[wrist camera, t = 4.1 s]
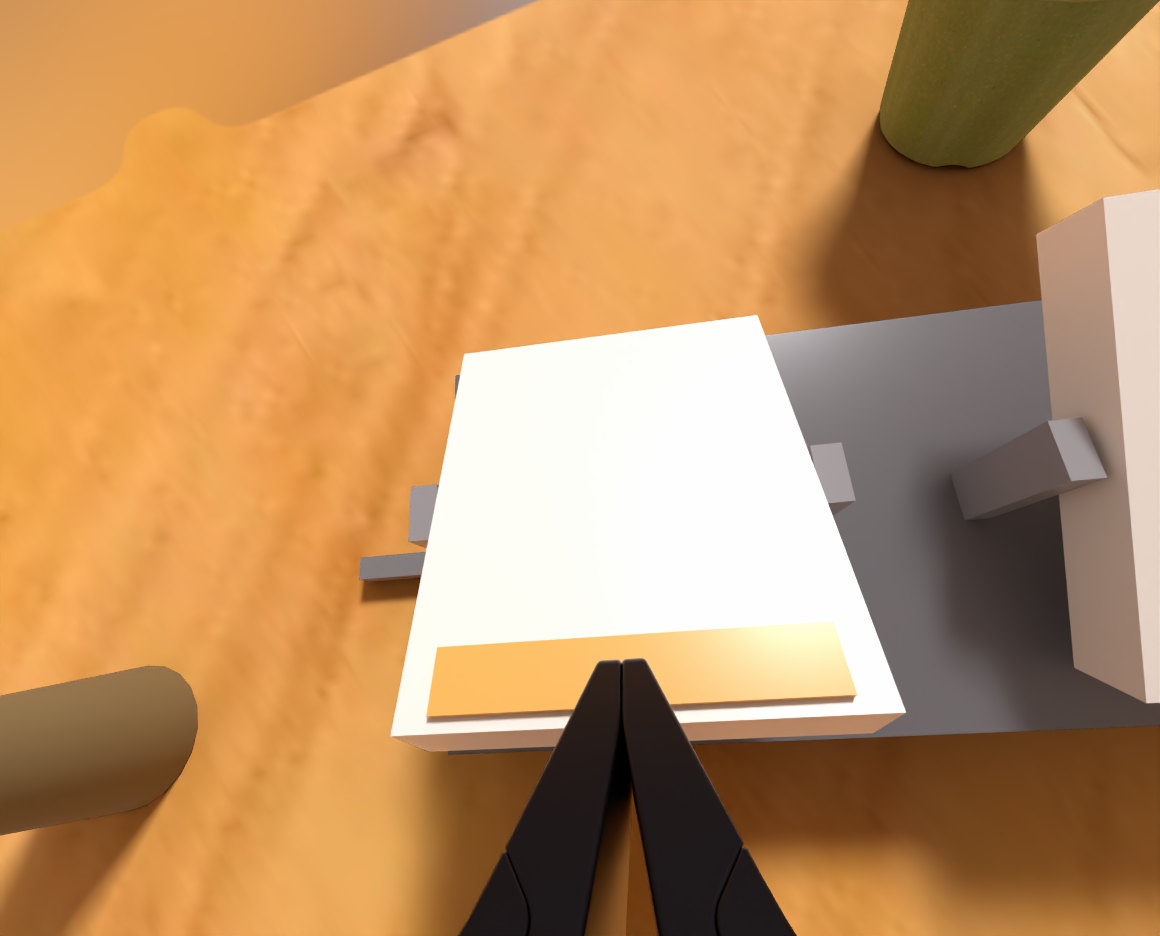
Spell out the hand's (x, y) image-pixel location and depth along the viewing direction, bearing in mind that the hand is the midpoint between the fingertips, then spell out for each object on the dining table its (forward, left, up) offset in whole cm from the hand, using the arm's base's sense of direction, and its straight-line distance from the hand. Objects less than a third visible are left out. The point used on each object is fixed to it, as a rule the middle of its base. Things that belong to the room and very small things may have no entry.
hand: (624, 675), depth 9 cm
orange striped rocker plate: (+4, -2, -4) cm, 6 cm away
